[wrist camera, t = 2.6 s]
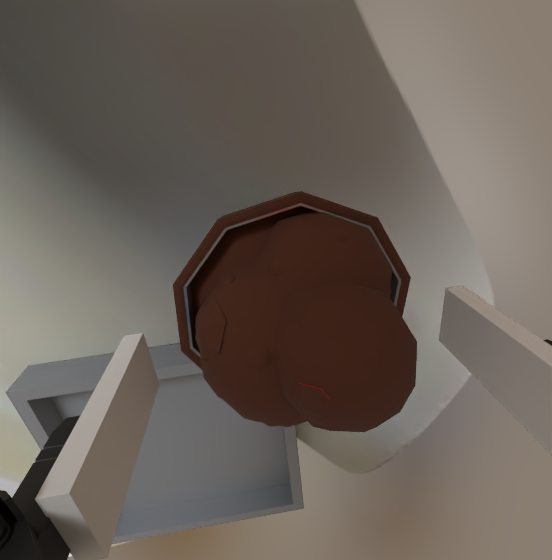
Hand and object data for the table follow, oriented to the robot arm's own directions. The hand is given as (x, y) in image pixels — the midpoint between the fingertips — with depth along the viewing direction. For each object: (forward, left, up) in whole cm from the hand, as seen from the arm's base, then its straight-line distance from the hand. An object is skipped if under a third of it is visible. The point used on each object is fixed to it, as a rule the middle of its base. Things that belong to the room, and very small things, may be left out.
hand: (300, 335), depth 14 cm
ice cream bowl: (0, 0, -11) cm, 11 cm away
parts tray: (+17, -10, -11) cm, 22 cm away
